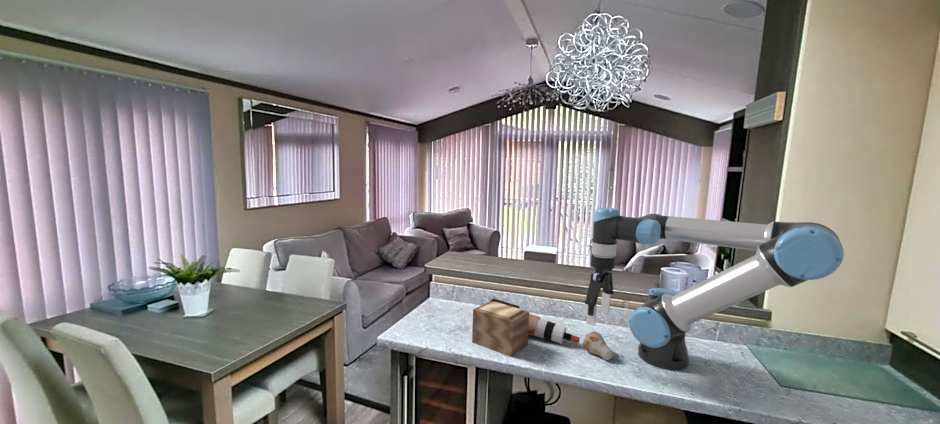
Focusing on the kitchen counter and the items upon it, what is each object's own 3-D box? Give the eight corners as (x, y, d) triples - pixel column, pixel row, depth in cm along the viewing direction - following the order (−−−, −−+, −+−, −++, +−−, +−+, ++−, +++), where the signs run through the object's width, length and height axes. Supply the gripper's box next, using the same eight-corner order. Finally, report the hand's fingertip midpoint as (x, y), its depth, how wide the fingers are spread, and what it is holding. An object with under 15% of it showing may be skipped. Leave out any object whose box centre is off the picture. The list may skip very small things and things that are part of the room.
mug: (606, 366, 123) (592, 336, 125) (587, 365, 132) (575, 337, 134) (622, 356, 126) (608, 326, 128) (603, 355, 135) (591, 328, 137)
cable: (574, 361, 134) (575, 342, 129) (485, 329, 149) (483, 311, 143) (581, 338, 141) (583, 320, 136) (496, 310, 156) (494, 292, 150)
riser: (527, 344, 135) (529, 310, 134) (511, 356, 127) (512, 320, 125) (489, 331, 145) (490, 299, 143) (472, 342, 136) (473, 307, 135)
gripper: (604, 247, 138) (599, 304, 141) (577, 260, 118) (572, 326, 121) (626, 250, 133) (620, 310, 136) (601, 265, 114) (596, 333, 117)
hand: (598, 318), depth 129 cm, fingers open, 13 cm apart
